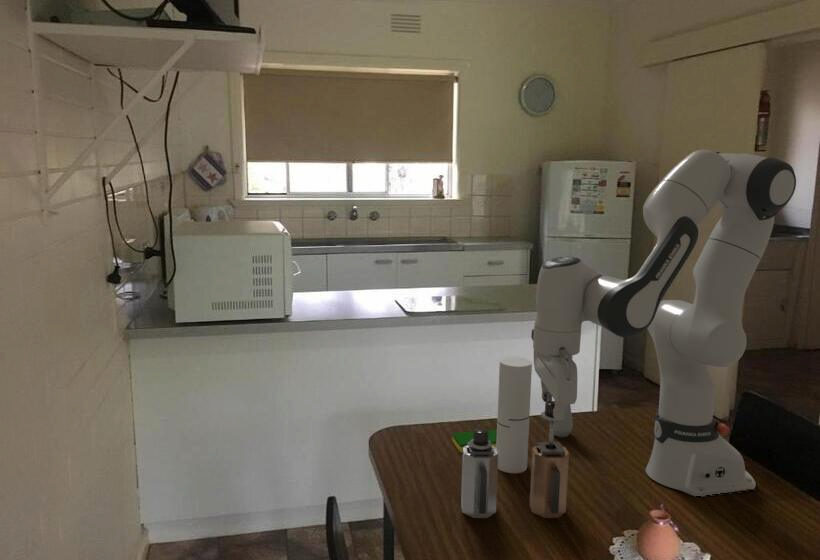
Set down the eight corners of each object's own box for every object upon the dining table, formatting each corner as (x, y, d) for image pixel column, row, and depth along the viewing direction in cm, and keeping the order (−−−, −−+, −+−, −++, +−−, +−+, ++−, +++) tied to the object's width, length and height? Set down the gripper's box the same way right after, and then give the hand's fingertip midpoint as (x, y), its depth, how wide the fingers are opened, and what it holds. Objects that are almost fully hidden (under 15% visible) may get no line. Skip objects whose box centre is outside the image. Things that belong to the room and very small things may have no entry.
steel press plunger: (488, 484, 135) (490, 427, 133) (491, 495, 131) (493, 436, 129) (466, 484, 135) (468, 427, 133) (469, 495, 131) (471, 436, 129)
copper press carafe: (559, 500, 138) (563, 439, 135) (571, 524, 129) (575, 459, 126) (527, 500, 137) (530, 439, 135) (536, 524, 128) (540, 459, 126)
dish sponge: (451, 442, 166) (451, 433, 166) (503, 437, 169) (503, 428, 169) (460, 454, 159) (460, 444, 159) (514, 449, 163) (514, 439, 162)
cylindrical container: (526, 474, 149) (531, 367, 144) (494, 471, 150) (498, 365, 145) (527, 460, 155) (532, 358, 151) (496, 457, 157) (500, 355, 152)
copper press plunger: (558, 457, 135) (561, 399, 132) (563, 467, 130) (567, 407, 128) (536, 457, 134) (539, 399, 132) (541, 467, 130) (544, 407, 128)
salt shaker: (575, 432, 172) (578, 385, 169) (568, 440, 167) (571, 391, 165) (553, 427, 175) (556, 380, 172) (546, 435, 170) (548, 386, 168)
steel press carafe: (492, 500, 137) (494, 439, 135) (499, 524, 128) (502, 459, 126) (460, 500, 137) (461, 439, 135) (464, 524, 128) (466, 459, 126)
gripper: (588, 357, 118) (583, 431, 120) (559, 328, 138) (555, 391, 140) (553, 357, 117) (548, 430, 120) (529, 327, 138) (526, 391, 140)
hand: (552, 409), depth 130 cm, fingers open, 8 cm apart
